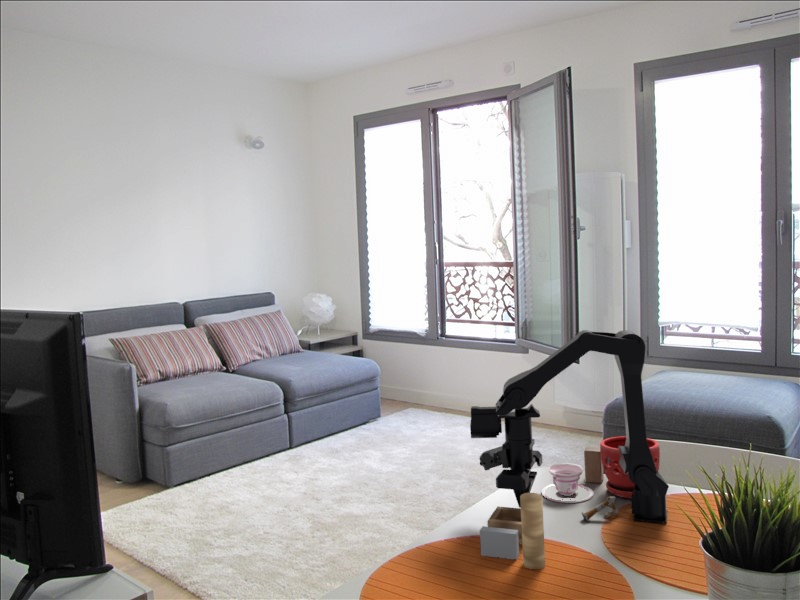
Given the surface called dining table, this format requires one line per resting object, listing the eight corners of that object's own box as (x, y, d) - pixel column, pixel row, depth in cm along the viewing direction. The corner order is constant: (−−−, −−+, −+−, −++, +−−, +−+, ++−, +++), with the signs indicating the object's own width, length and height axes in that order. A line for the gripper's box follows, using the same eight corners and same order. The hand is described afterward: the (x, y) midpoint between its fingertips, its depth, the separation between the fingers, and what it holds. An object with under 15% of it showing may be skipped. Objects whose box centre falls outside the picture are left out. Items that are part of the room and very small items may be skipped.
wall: (519, 555, 132) (518, 530, 131) (517, 559, 130) (515, 534, 129) (484, 551, 134) (482, 526, 134) (481, 555, 132) (479, 530, 132)
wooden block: (601, 483, 167) (600, 451, 166) (585, 482, 169) (583, 450, 168) (603, 478, 171) (602, 446, 170) (587, 477, 172) (586, 445, 172)
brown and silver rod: (624, 513, 147) (615, 495, 146) (593, 532, 145) (584, 514, 145) (619, 509, 148) (611, 492, 148) (589, 529, 147) (580, 511, 147)
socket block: (535, 528, 143) (534, 509, 143) (527, 544, 136) (526, 525, 136) (498, 524, 146) (497, 506, 146) (488, 540, 139) (487, 521, 139)
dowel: (547, 561, 128) (544, 493, 127) (543, 570, 125) (539, 501, 124) (526, 558, 130) (522, 491, 129) (521, 568, 126) (518, 499, 125)
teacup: (560, 482, 170) (559, 457, 170) (603, 492, 161) (602, 467, 161) (531, 496, 162) (529, 470, 162) (575, 508, 153) (573, 481, 153)
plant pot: (670, 489, 160) (669, 439, 160) (644, 506, 151) (642, 453, 150) (618, 478, 170) (617, 431, 169) (591, 494, 161) (589, 443, 160)
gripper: (493, 424, 160) (496, 489, 161) (470, 447, 143) (474, 520, 144) (541, 426, 155) (544, 493, 157) (523, 450, 138) (526, 525, 139)
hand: (522, 507), depth 149 cm, fingers closed
